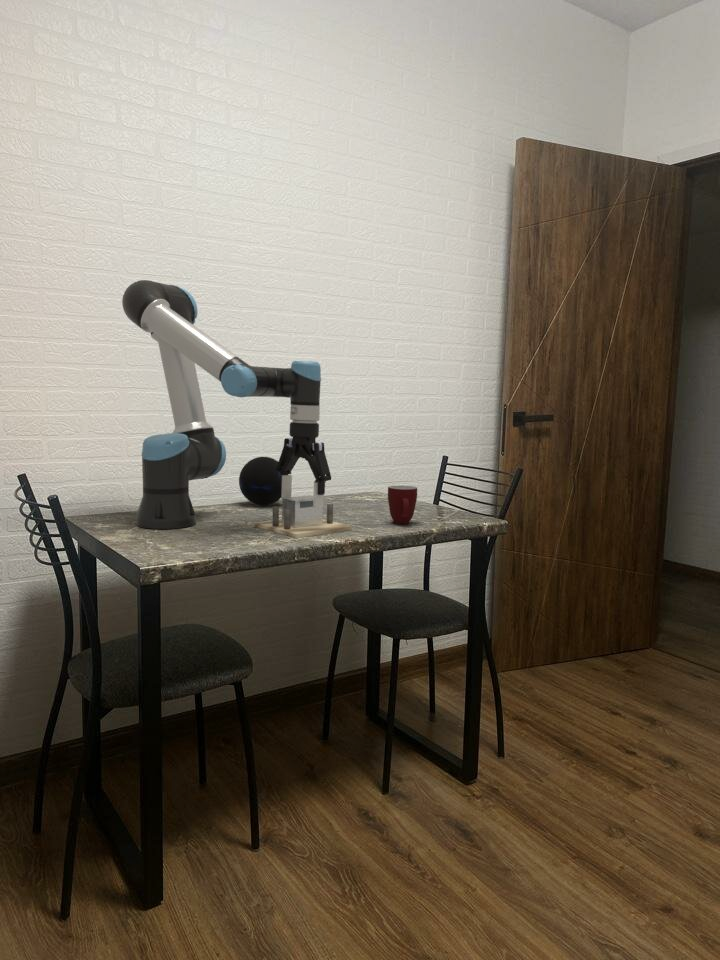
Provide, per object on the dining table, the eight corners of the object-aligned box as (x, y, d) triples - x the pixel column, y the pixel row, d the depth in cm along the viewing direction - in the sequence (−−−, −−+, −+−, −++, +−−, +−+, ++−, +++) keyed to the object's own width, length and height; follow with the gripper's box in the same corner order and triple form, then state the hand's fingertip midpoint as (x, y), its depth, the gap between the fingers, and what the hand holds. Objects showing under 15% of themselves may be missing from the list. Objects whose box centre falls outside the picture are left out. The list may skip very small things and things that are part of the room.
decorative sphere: (288, 509, 221) (289, 459, 219) (238, 508, 219) (238, 458, 217) (286, 501, 236) (287, 454, 234) (239, 501, 234) (239, 454, 232)
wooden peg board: (254, 526, 192) (254, 503, 191) (308, 519, 204) (309, 498, 203) (296, 538, 179) (296, 513, 178) (351, 529, 191) (352, 507, 190)
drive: (282, 524, 190) (282, 498, 189) (309, 521, 196) (309, 495, 195) (295, 528, 186) (295, 500, 185) (322, 524, 192) (322, 497, 191)
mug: (423, 527, 197) (424, 490, 195) (394, 528, 195) (395, 490, 193) (410, 520, 207) (411, 485, 205) (383, 520, 205) (384, 485, 203)
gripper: (264, 418, 195) (262, 497, 197) (323, 425, 176) (320, 512, 179) (287, 418, 200) (285, 495, 202) (347, 425, 181) (343, 509, 184)
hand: (301, 503), depth 191 cm, fingers open, 13 cm apart
